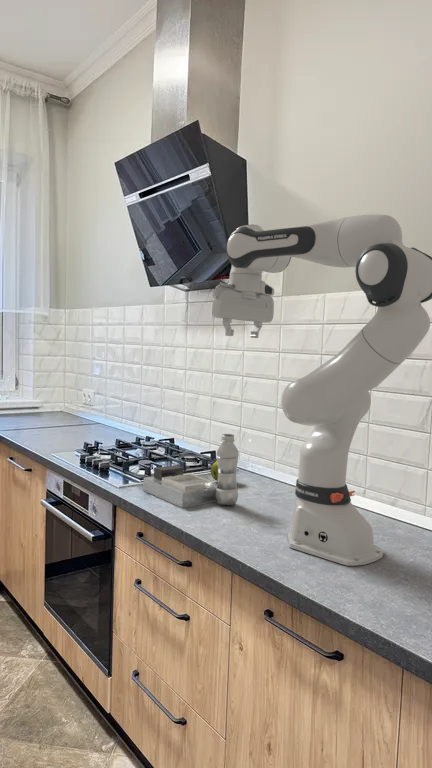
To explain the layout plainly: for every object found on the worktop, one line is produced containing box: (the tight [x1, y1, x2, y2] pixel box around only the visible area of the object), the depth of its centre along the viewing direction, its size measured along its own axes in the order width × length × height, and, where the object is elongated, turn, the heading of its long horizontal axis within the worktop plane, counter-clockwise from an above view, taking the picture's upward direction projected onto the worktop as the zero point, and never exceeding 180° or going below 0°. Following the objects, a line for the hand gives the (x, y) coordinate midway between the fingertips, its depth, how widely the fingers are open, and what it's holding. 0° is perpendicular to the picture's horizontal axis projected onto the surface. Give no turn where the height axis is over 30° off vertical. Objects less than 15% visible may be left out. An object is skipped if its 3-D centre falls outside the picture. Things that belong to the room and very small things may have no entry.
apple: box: [209, 460, 218, 482], centre depth 178 cm, size 8×9×8 cm
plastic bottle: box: [215, 433, 240, 506], centre depth 152 cm, size 6×7×20 cm
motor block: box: [142, 464, 217, 509], centre depth 160 cm, size 23×14×7 cm, turn 40°
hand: (242, 337), depth 148 cm, fingers open, 8 cm apart
